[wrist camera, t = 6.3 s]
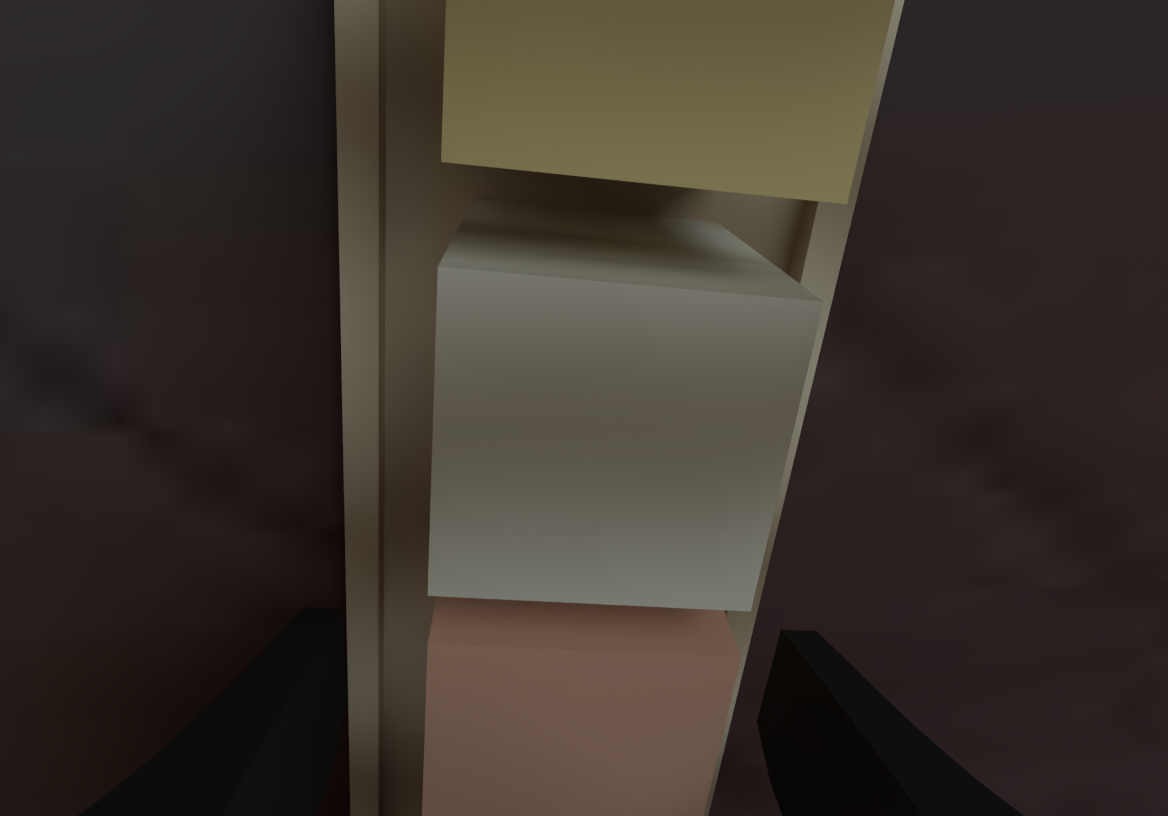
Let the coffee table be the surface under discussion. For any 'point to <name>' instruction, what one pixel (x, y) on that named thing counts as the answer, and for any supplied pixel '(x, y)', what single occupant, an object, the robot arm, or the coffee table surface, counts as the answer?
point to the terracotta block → (574, 708)
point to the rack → (578, 309)
